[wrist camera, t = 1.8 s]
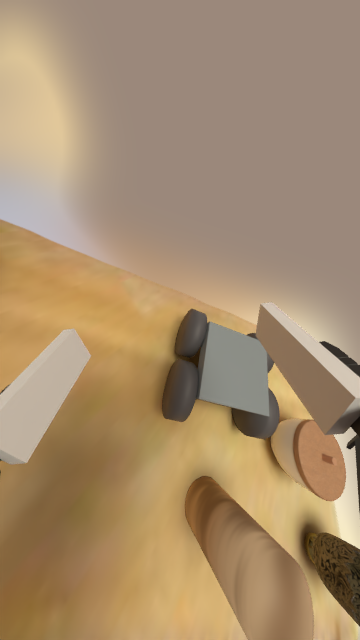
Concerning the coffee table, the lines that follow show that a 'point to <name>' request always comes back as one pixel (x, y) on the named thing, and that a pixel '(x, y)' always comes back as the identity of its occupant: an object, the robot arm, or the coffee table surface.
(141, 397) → the coffee table surface
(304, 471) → the lidded jar
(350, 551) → the dark brown textured bowl
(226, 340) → the trolley
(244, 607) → the tan wooden cylinder
